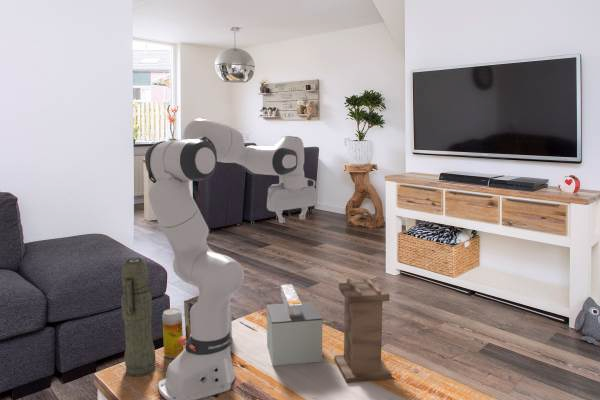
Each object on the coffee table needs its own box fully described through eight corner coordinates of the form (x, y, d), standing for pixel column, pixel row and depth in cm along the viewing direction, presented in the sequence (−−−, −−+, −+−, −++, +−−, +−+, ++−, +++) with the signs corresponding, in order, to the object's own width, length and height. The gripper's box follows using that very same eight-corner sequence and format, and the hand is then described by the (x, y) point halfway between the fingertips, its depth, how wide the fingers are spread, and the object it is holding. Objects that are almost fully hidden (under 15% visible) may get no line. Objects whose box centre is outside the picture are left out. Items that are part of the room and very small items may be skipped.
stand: (334, 360, 152) (334, 278, 147) (375, 356, 154) (377, 276, 150) (346, 383, 138) (347, 294, 134) (391, 378, 141) (394, 291, 136)
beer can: (178, 359, 152) (176, 315, 150) (161, 358, 153) (158, 314, 151) (186, 351, 158) (184, 308, 156) (169, 349, 159) (167, 307, 157)
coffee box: (216, 346, 162) (215, 301, 159) (201, 352, 157) (200, 306, 154) (200, 338, 167) (198, 295, 165) (185, 344, 163) (183, 300, 160)
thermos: (159, 359, 153) (153, 254, 147) (151, 378, 141) (144, 265, 136) (131, 360, 152) (124, 255, 147) (120, 379, 140) (112, 266, 135)
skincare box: (232, 336, 169) (231, 304, 167) (224, 341, 165) (223, 308, 163) (219, 332, 172) (218, 301, 170) (211, 337, 169) (210, 305, 167)
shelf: (267, 344, 163) (266, 304, 160) (312, 340, 165) (312, 301, 163) (272, 366, 148) (272, 322, 146) (322, 361, 151) (322, 318, 149)
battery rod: (280, 295, 169) (280, 284, 168) (292, 294, 170) (291, 283, 169) (289, 318, 149) (289, 306, 148) (302, 317, 149) (302, 305, 149)
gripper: (273, 185, 157) (274, 226, 159) (318, 181, 170) (318, 218, 172) (262, 184, 162) (263, 223, 164) (307, 179, 175) (307, 216, 177)
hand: (292, 220), depth 168 cm, fingers open, 8 cm apart
